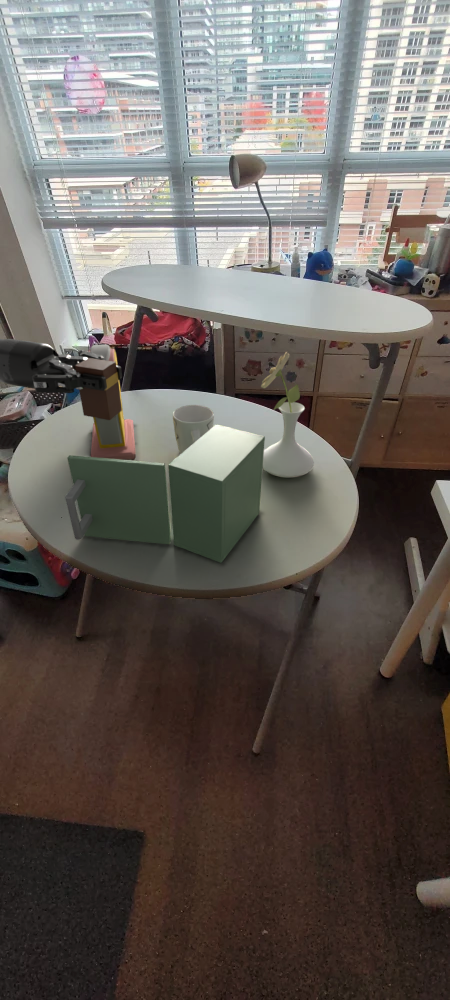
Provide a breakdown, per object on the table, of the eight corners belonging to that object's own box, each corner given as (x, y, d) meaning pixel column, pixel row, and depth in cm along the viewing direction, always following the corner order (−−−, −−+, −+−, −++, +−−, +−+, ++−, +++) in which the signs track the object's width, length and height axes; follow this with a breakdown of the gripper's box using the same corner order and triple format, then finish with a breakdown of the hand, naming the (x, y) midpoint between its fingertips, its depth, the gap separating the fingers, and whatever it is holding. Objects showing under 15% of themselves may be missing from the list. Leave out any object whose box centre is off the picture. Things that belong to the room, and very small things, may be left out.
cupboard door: (162, 566, 72) (154, 485, 62) (72, 556, 73) (52, 476, 64) (171, 541, 76) (164, 462, 67) (86, 533, 78) (69, 454, 69)
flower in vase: (284, 448, 102) (294, 335, 87) (324, 469, 95) (343, 350, 80) (241, 469, 95) (245, 349, 80) (281, 493, 88) (293, 367, 74)
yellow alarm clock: (94, 422, 111) (79, 332, 98) (133, 419, 113) (122, 330, 100) (91, 470, 94) (71, 368, 81) (136, 466, 95) (124, 366, 83)
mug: (218, 471, 94) (218, 428, 88) (177, 474, 93) (175, 431, 87) (211, 444, 103) (210, 403, 97) (173, 447, 102) (171, 405, 96)
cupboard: (173, 545, 76) (167, 464, 67) (216, 499, 87) (216, 424, 77) (221, 563, 73) (222, 481, 63) (259, 513, 83) (265, 436, 74)
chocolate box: (83, 415, 76) (74, 365, 71) (96, 405, 79) (88, 357, 74) (110, 420, 75) (102, 370, 70) (122, 410, 78) (116, 361, 73)
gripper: (-15, 355, 69) (84, 370, 65) (44, 329, 80) (132, 341, 75) (-1, 401, 73) (92, 418, 69) (53, 371, 84) (136, 384, 80)
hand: (112, 378), depth 72 cm, fingers closed on chocolate box, 4 cm apart
